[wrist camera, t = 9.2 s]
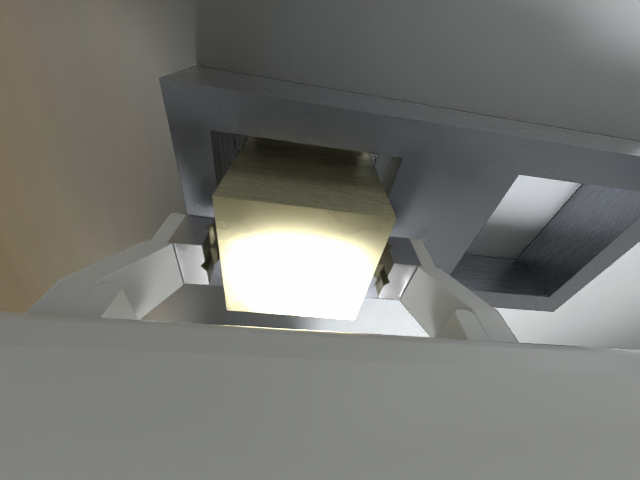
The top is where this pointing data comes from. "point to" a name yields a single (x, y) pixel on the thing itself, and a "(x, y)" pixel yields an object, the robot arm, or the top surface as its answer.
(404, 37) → the top surface
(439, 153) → the rail
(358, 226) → the khaki block
